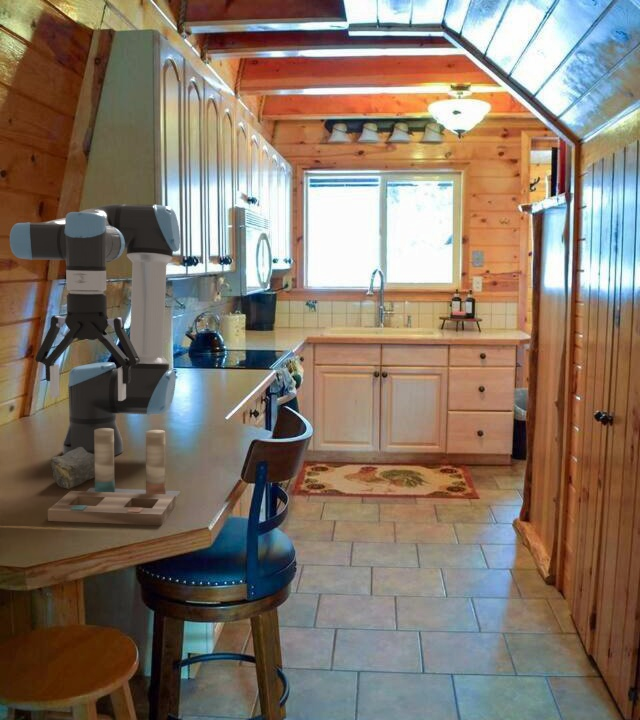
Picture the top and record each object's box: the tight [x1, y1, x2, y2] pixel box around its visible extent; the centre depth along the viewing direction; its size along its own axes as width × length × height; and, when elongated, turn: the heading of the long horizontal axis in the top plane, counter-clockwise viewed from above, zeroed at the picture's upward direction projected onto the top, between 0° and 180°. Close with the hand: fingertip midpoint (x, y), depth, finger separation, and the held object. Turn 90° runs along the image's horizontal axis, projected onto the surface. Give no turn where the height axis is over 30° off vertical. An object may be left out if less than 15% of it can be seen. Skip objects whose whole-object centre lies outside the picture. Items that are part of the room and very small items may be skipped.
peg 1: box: [94, 428, 116, 492], centre depth 158 cm, size 4×4×14 cm
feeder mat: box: [86, 487, 182, 498], centre depth 159 cm, size 8×20×1 cm, turn 88°
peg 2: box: [145, 429, 166, 494], centre depth 158 cm, size 4×4×14 cm
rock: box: [50, 447, 95, 490], centre depth 169 cm, size 17×7×10 cm
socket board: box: [47, 490, 177, 526], centre depth 148 cm, size 12×22×3 cm, turn 88°
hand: (88, 398), depth 149 cm, fingers open, 13 cm apart
